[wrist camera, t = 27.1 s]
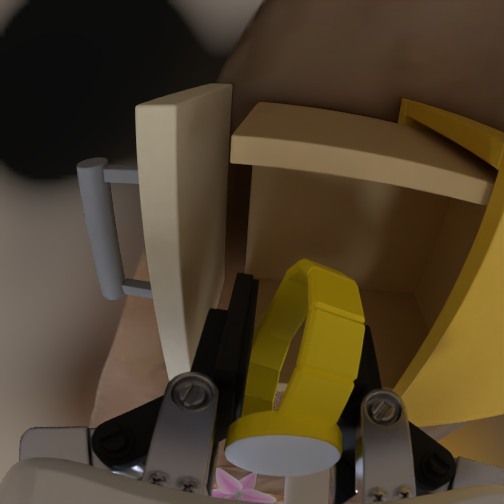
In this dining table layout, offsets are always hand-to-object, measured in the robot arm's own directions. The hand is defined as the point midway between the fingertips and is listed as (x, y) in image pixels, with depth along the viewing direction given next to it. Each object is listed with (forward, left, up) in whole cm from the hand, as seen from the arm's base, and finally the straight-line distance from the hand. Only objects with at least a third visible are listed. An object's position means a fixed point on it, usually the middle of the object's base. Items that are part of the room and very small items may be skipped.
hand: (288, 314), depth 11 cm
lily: (-53, +1, -10) cm, 54 cm away
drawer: (0, 0, -9) cm, 9 cm away
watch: (0, 0, -1) cm, 1 cm away
